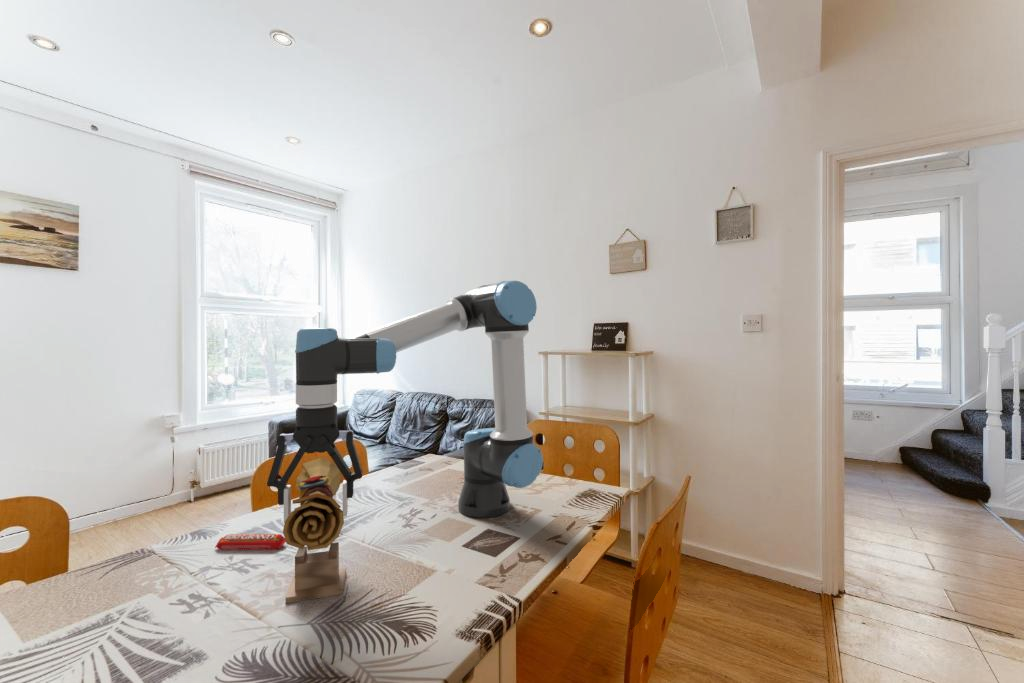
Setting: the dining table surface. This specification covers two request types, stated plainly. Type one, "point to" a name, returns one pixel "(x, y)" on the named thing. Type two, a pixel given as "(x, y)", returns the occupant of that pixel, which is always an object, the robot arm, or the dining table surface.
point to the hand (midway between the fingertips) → (316, 517)
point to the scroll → (315, 507)
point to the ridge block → (316, 575)
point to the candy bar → (251, 542)
